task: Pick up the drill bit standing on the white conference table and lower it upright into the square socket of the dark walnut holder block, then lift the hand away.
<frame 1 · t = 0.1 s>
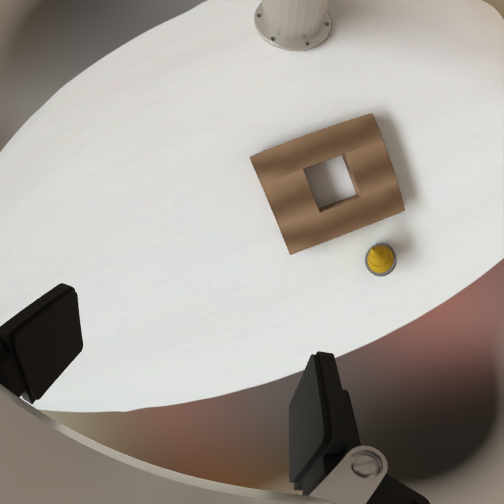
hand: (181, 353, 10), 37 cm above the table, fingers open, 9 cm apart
drill bit: (371, 253, 46), on the table
holder block: (329, 181, 43), on the table
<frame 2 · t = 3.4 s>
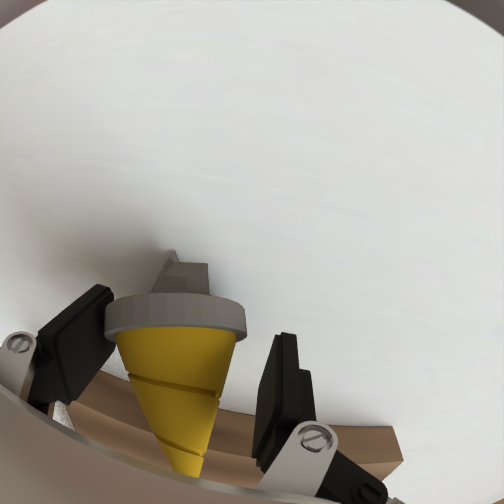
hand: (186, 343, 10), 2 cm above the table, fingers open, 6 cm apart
drill bit: (207, 315, 13), on the table, touching gripper
holder block: (222, 470, 17), on the table
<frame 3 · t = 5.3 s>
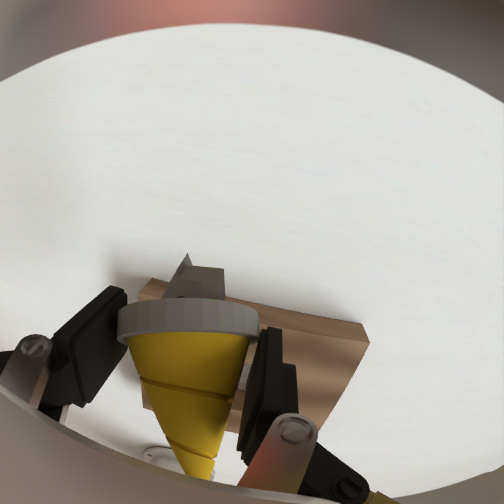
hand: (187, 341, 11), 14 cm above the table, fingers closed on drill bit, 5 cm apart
drill bit: (217, 319, 13), point 11 cm above the table, touching gripper
holder block: (242, 368, 28), on the table
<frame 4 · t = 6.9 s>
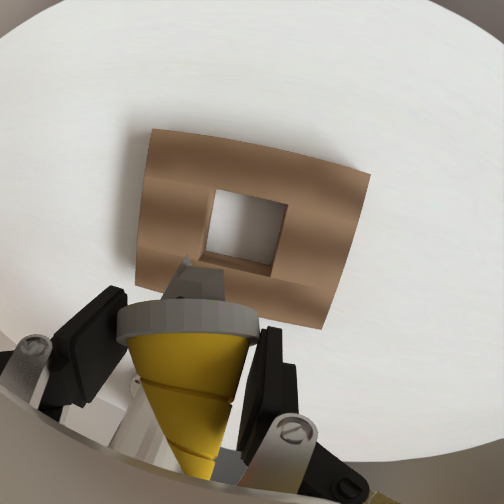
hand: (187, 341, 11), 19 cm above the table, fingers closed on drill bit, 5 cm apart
drill bit: (217, 319, 13), point 17 cm above the table, touching gripper
holder block: (244, 225, 29), on the table
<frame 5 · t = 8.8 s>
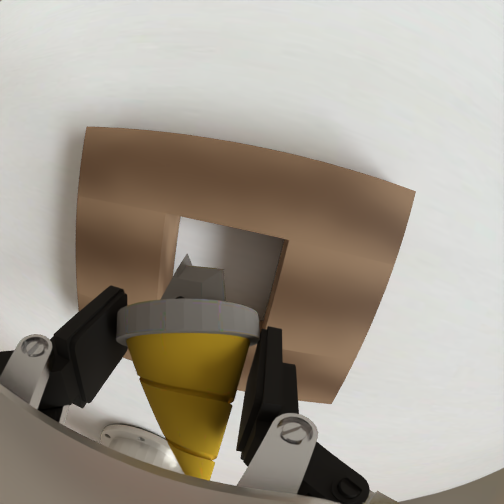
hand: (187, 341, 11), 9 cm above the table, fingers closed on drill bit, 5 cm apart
drill bit: (217, 319, 13), point 7 cm above the table, touching gripper
holder block: (223, 266, 19), on the table
when the fingers open (4 cm above the table, at t = 10.3 s): drill bit drops 2 cm, on the table.
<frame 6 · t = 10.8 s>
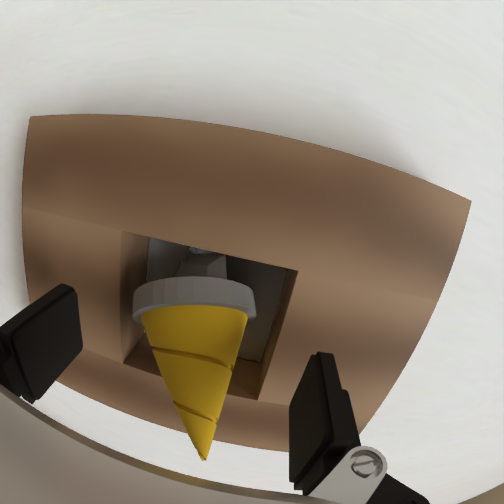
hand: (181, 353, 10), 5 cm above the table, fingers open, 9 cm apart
drill bit: (219, 302, 15), on the table
holder block: (208, 296, 14), on the table
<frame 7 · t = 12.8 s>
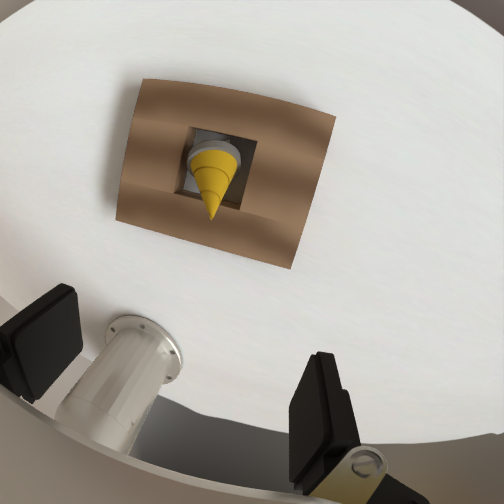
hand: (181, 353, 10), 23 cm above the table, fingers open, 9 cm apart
drill bit: (224, 170, 30), on the table
holder block: (219, 166, 30), on the table
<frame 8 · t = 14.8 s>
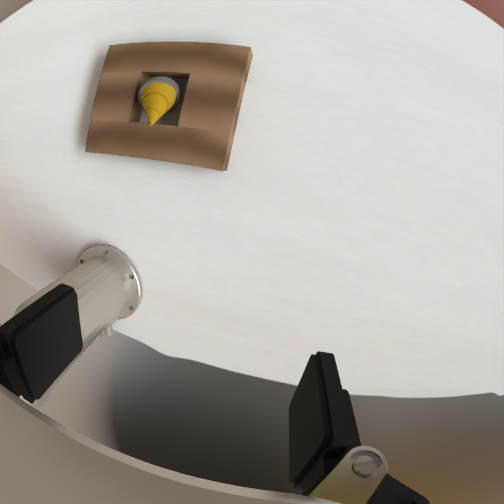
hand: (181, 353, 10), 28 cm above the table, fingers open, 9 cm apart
drill bit: (170, 104, 33), on the table
holder block: (166, 101, 33), on the table
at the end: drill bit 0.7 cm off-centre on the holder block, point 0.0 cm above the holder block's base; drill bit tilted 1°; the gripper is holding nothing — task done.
